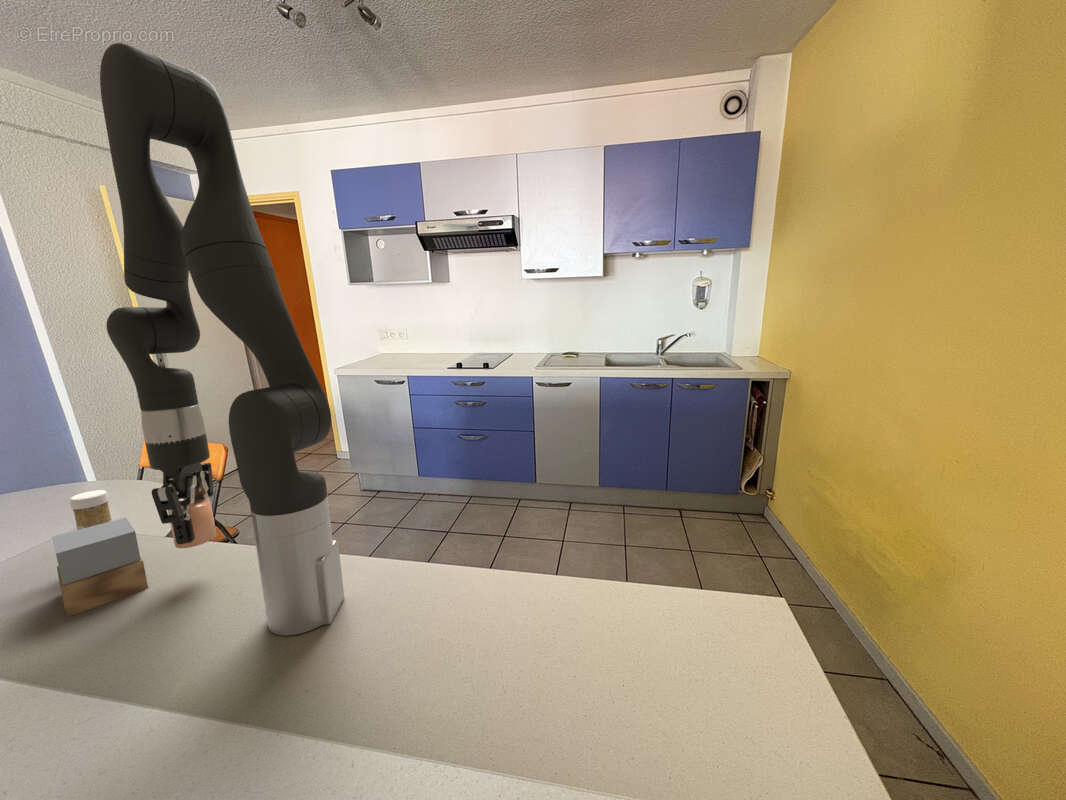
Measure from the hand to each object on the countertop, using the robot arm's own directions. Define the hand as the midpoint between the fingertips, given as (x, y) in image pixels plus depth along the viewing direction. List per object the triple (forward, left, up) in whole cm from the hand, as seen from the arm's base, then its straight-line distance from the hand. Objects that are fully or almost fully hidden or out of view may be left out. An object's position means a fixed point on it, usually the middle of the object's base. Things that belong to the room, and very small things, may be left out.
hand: (195, 533), depth 71 cm
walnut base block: (+13, +2, -8) cm, 16 cm away
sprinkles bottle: (+21, -7, -8) cm, 23 cm away
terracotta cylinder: (0, 0, -1) cm, 1 cm away
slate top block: (+13, +2, -3) cm, 14 cm away
